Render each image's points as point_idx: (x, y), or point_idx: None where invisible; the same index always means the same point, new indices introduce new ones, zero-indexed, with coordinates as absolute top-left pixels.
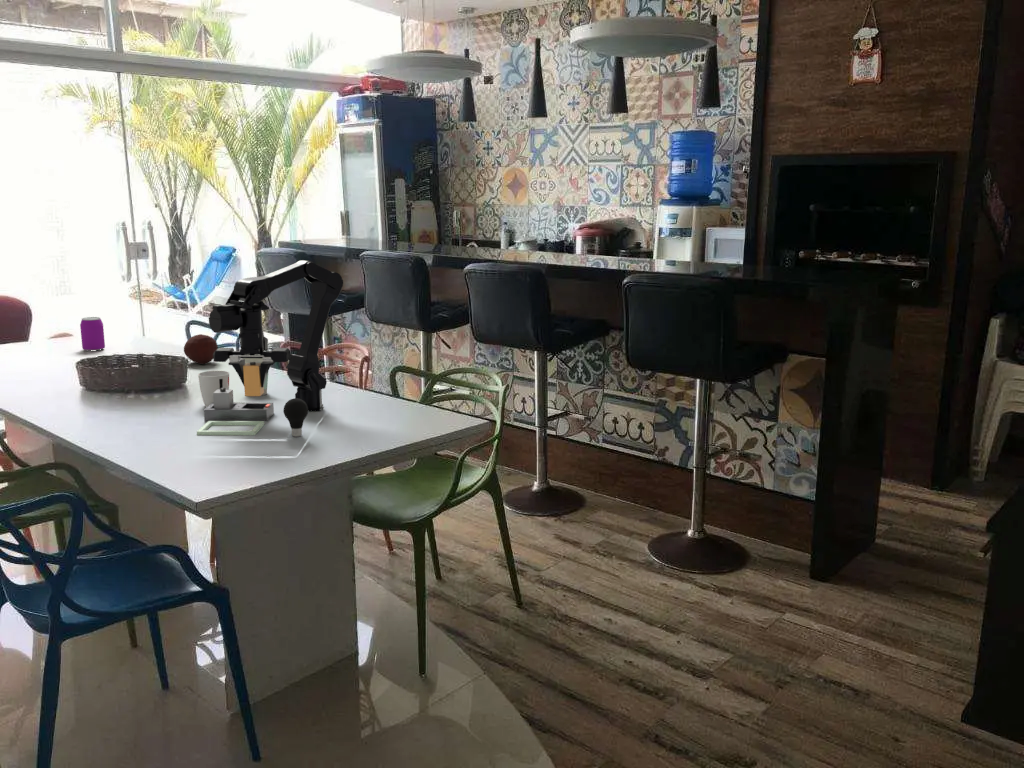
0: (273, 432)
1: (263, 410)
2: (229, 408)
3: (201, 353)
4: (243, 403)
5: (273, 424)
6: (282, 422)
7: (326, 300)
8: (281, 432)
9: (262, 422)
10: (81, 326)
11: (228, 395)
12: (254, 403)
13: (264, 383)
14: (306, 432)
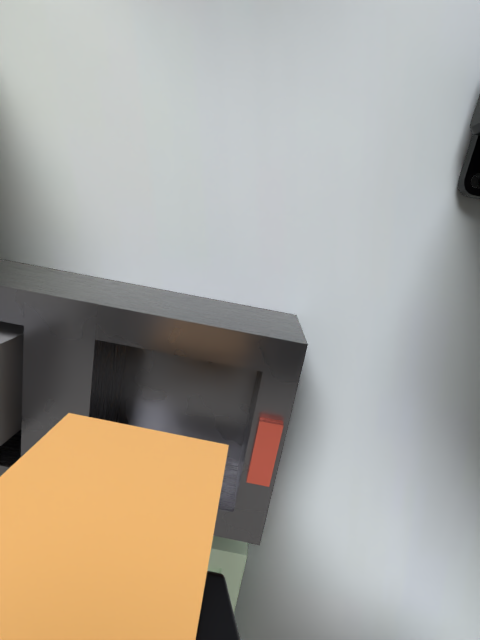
0: (293, 596)
1: (239, 537)
2: (2, 442)
3: None
4: (70, 332)
5: (293, 468)
6: (343, 439)
7: None
8: (330, 603)
9: (239, 576)
10: None
11: None
12: (156, 347)
13: (232, 617)
14: (448, 626)
